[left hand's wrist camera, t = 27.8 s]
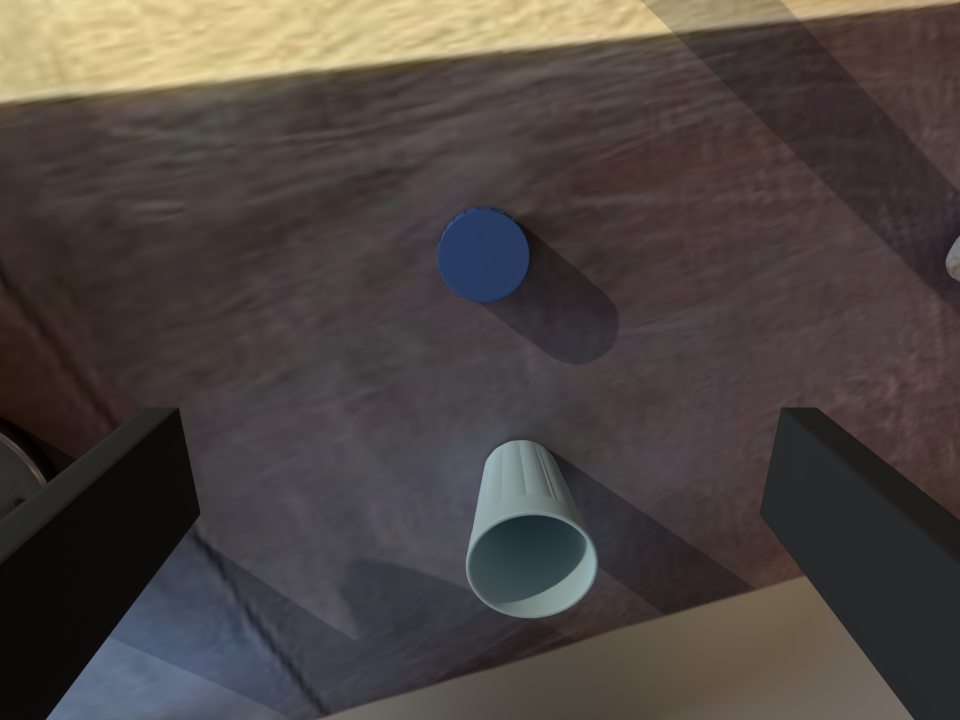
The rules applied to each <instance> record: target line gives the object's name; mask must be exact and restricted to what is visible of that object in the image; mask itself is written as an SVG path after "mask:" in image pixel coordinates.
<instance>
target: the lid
mask: <svg viewBox="0 0 960 720" xmlns="http://www.w3.org/2000/svg"><path fill="white" fill-rule="evenodd" d="M523 231H524V230H523V228H522V226H521V227H520V226H519V224H518V223H517V222H516V221H515V219H514V217H511V216H510V215H508V214H507V213H505V212H504V211H503V210H499V209H496V208H491V206H489V207H478V206H476V208H472V209H469V210H466V211H465V210H464V211H463V212H462V213H460V214H459V215H457V216H456V217H453V219H452V221H451V222H450V223H449V225H448V226H447V227H445V229H444V231H443V232H444V233H443V236H442V238H441V239H440V241H439V243H438V244H439V249H438V254H437V257H438V264H439V270H440V272H441V274H442V276H443V278H444V280H445V282H446V283H447V285H448V286H449V287H450V288H451V289H452V290H453V291H454V292H455V293H457V294H458V295H460V296H462V297H464V298H466V299H468V300H471V301H476V302H491V301H496V300H499V299H502V298H504V297H506V296H507V295H509V294H511V293H512V292H513V291H514V290H515V289H516V288H517V287H518V286H519V285H520V284H521V282H522V281H523V279H524V277H525V275H526V273H527V270H528V266H529V260H530V252H529V246H528V244H529V242H528V240H527V238H526V237H525V235H524V233H523Z"/></svg>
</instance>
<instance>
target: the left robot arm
mask: <svg viewBox="0 0 960 720" xmlns="http://www.w3.org/2000/svg"><path fill="white" fill-rule="evenodd" d="M199 515H200V509H199V504H198V499H197V494H196V489H195V485H194V480H193V475H192V470H191V465H190V460H189V455H188V451H187V446H186V441H185V436H184V431H183V426H182V421H181V417H180V412H179V408H142V409H141V410H140V411H139V412H137V413H136V414H135V415H133V416H132V417H131V418H130V419H128V420H127V421H126V422H125V423H123V424H122V425H121V426H119V427H118V428H117V429H116V430H114V431H113V432H112V433H111V434H109V435H108V436H107V437H106V438H104V439H103V440H102V441H100V442H99V443H98V444H97V445H95V446H94V447H93V448H92V449H90V450H89V451H88V452H86V453H85V454H84V455H83V456H81V457H80V458H79V459H78V460H76V461H75V462H74V463H72V464H71V465H70V466H69V467H67V468H66V469H65V470H64V471H62V472H61V473H60V474H58V475H57V476H56V474H55V473H54V471H53V469H52V467H51V466H50V464H49V463H48V461H47V460H46V459H45V457H44V456H43V455H42V453H41V452H40V451H39V450H38V449H37V448H36V447H35V446H34V445H33V444H32V443H31V442H30V441H29V440H28V439H27V438H26V437H25V436H23V435H22V434H21V433H20V432H18V431H17V430H16V429H14V428H13V427H11V426H10V425H9V424H7V423H5V422H4V421H2V420H0V720H46V719H47V717H48V716H49V715H50V713H51V712H52V711H53V709H54V708H55V707H56V705H57V704H58V703H59V701H60V700H61V699H62V697H63V696H64V695H65V693H66V692H67V691H68V689H69V688H70V687H71V685H72V684H73V683H74V681H75V680H76V679H77V677H78V676H79V675H80V673H81V672H82V671H83V669H84V668H85V667H86V665H87V664H88V663H89V661H90V660H91V659H92V657H93V656H94V655H95V653H96V652H97V651H98V649H99V648H100V647H101V645H102V644H103V643H104V642H105V640H106V639H107V638H108V636H109V635H110V634H111V632H112V631H113V630H114V628H115V627H116V626H117V624H118V623H119V622H120V620H121V619H122V618H123V616H124V615H125V614H126V612H127V611H128V610H129V608H130V607H131V606H132V604H133V603H134V602H135V600H136V599H137V598H138V596H139V595H140V594H141V592H142V591H143V590H144V588H145V587H146V586H147V584H148V583H149V582H150V580H151V579H152V578H153V576H154V575H155V574H156V572H157V571H158V570H159V568H160V567H161V566H162V564H163V563H164V562H165V560H166V559H167V558H168V557H169V555H170V554H171V553H172V551H173V550H174V549H175V547H176V546H177V545H178V543H179V542H180V541H181V539H182V538H183V537H184V535H185V534H186V533H187V531H188V530H189V529H190V527H191V526H192V525H193V523H194V522H195V521H196V519H197V518H198V517H199ZM760 515H761V517H762V518H763V519H764V521H765V522H766V523H767V525H768V526H769V527H770V529H771V530H772V531H773V533H774V534H775V535H776V537H777V538H778V539H779V541H780V542H781V543H782V545H783V546H784V547H785V549H786V550H787V551H788V553H789V554H790V555H791V557H792V558H793V559H794V560H795V562H796V563H797V564H798V566H799V567H800V568H801V570H802V571H803V572H804V574H805V575H806V576H807V578H808V579H809V580H810V582H811V583H812V584H813V586H814V587H815V588H816V590H817V591H818V592H819V594H820V595H821V596H822V598H823V599H824V600H825V602H826V603H827V604H828V606H829V607H830V608H831V610H832V611H833V612H834V614H835V615H836V616H837V618H838V619H839V620H840V622H841V623H842V624H843V626H844V627H845V628H846V630H847V631H848V632H849V634H850V635H851V636H852V638H853V639H854V640H855V641H856V643H857V644H858V645H859V647H860V648H861V649H862V651H863V652H864V653H865V655H866V656H867V657H868V659H869V660H870V661H871V663H872V664H873V665H874V667H875V668H876V669H877V671H878V672H879V673H880V675H881V676H882V677H883V679H884V680H885V681H886V683H887V684H888V685H889V687H890V688H891V689H892V691H893V692H894V693H895V695H896V696H897V697H898V699H899V700H900V701H901V703H902V704H903V705H904V707H905V708H906V709H907V711H908V712H909V713H910V714H911V716H912V717H913V718H914V720H960V520H959V519H957V518H956V517H955V516H954V515H952V514H951V513H950V512H949V511H947V510H946V509H945V508H943V507H942V506H941V505H940V504H938V503H937V502H936V501H935V500H933V499H932V498H931V497H929V496H928V495H927V494H926V493H924V492H923V491H922V490H921V489H919V488H918V487H917V486H915V485H914V484H913V483H912V482H910V481H909V480H908V479H907V478H905V477H904V476H903V475H902V474H900V473H899V472H898V471H896V470H895V469H894V468H893V467H891V466H890V465H889V464H888V463H886V462H885V461H884V460H882V459H881V458H880V457H879V456H877V455H876V454H875V453H874V452H872V451H871V450H870V449H868V448H867V447H866V446H865V445H863V444H862V443H861V442H860V441H858V440H857V439H856V438H854V437H853V436H852V435H851V434H849V433H848V432H847V431H846V430H844V429H843V428H842V427H841V426H839V425H838V424H837V423H835V422H834V421H833V420H832V419H830V418H829V417H828V416H827V415H825V414H824V413H823V412H821V411H820V410H819V409H818V408H781V412H780V417H779V421H778V426H777V431H776V436H775V441H774V446H773V451H772V455H771V460H770V465H769V470H768V475H767V480H766V485H765V489H764V494H763V499H762V504H761V509H760Z"/></svg>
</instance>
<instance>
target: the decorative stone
mask: <svg viewBox="0 0 960 720" xmlns="http://www.w3.org/2000/svg"><path fill="white" fill-rule="evenodd" d="M946 267H947V271H948V272H949V275H951V276H952V277H953V278H954V279H956V280H958V281H959V282H960V236H959V237H958V238H957V240H956V241H955V243H954V244H953V246H952V248H951V250H950V252H949V253H948V256H947V258H946Z"/></svg>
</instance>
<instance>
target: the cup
mask: <svg viewBox="0 0 960 720" xmlns="http://www.w3.org/2000/svg"><path fill="white" fill-rule="evenodd" d="M597 570H598V555H597V551H596V548H595V545H594V543H593V541H592V539H591V536H590V534H589V532H588V530H587V528H586V526H585V524H584V522H583V519H582V517H581V515H580V513H579V511H578V508H577V506H576V504H575V502H574V500H573V498H572V495H571V493H570V491H569V489H568V487H567V484H566V482H565V480H564V478H563V476H562V474H561V471H560V469H559V467H558V465H557V463H556V461H555V459H554V457H553V456H552V455H551V454H550V452H549V451H548V450H547V449H546V448H545V447H543V446H541V445H539V444H537V443H535V442H532V441H528V440H517V441H510V442H508V443H505V444H503V445H501V446H499V447H498V448H496V449H495V450H494V451H493V452H492V454H491V455H490V456H489V457H488V459H487V461H486V463H485V468H484V473H483V478H482V483H481V488H480V494H479V499H478V504H477V510H476V515H475V520H474V526H473V531H472V534H471V538H470V543H469V549H468V554H467V559H466V572H467V577H468V581H469V583H470V585H471V587H472V589H473V591H474V592H475V593H476V595H477V596H478V597H479V598H480V599H481V600H482V601H483V602H484V603H485V604H487V605H488V606H490V607H491V608H493V609H495V610H497V611H499V612H501V613H504V614H507V615H510V616H515V617H521V618H539V617H545V616H550V615H554V614H557V613H559V612H562V611H564V610H566V609H568V608H570V607H571V606H573V605H574V604H576V603H577V602H578V601H579V600H581V599H582V598H583V597H584V596H585V595H586V593H587V592H588V591H589V589H590V588H591V586H592V585H593V583H594V580H595V578H596V575H597Z"/></svg>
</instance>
